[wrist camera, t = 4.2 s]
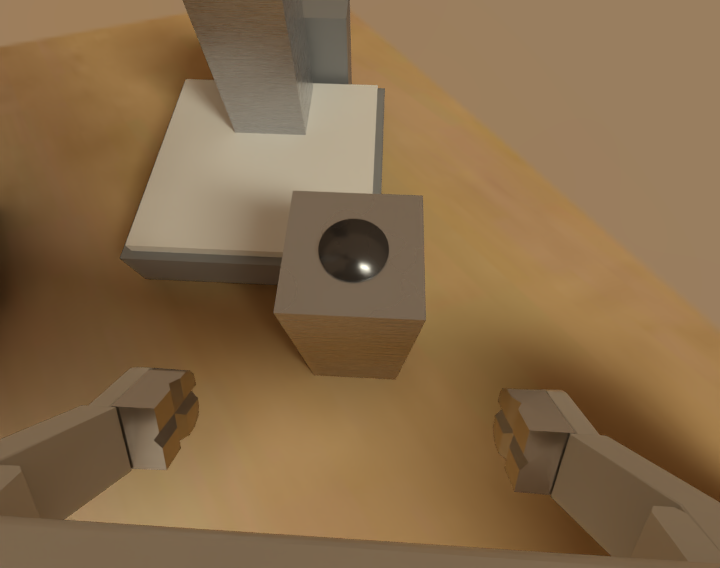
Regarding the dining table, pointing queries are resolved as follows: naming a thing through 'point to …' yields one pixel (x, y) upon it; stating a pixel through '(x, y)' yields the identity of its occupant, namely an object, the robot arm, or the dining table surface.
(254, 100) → the post
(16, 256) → the dining table surface
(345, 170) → the scale
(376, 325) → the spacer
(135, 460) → the robot arm
